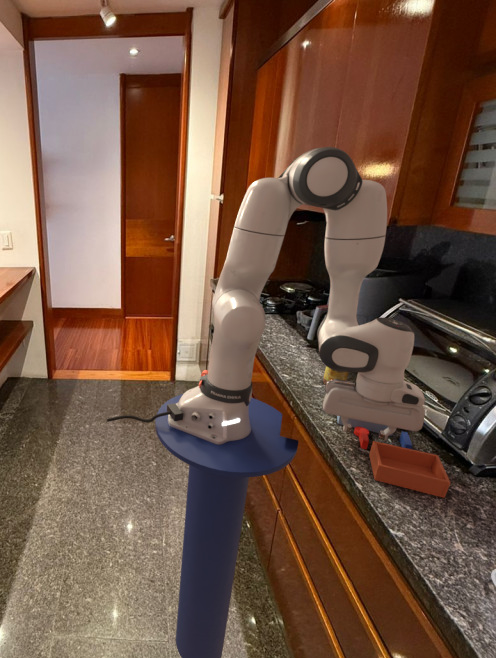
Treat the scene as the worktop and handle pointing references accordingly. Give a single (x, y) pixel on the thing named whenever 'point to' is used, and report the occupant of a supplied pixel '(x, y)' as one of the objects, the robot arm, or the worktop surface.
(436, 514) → the worktop surface
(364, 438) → the red spoon
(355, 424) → the blue bin
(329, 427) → the worktop surface
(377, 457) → the terracotta bin
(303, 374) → the worktop surface
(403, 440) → the blue spoon
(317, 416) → the worktop surface
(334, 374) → the sauce bottle
